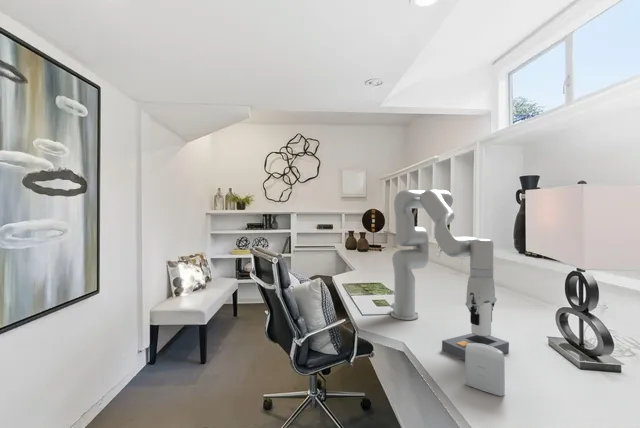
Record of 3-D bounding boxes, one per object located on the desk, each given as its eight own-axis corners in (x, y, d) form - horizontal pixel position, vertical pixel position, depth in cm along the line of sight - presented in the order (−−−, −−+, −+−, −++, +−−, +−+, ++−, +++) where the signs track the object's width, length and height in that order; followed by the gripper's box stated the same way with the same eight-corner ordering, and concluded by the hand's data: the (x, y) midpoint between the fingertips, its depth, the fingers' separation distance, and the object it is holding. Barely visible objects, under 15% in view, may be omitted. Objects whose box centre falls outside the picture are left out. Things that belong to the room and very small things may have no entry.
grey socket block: (442, 350, 121) (442, 339, 121) (478, 340, 130) (478, 330, 130) (471, 363, 110) (471, 351, 110) (508, 352, 119) (508, 341, 119)
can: (480, 337, 117) (480, 303, 117) (467, 331, 123) (467, 298, 123) (495, 336, 119) (495, 302, 119) (482, 329, 125) (482, 297, 125)
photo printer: (462, 385, 97) (463, 342, 96) (468, 379, 100) (468, 338, 100) (502, 398, 90) (502, 352, 89) (506, 392, 93) (507, 347, 93)
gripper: (487, 269, 128) (487, 316, 129) (456, 273, 120) (456, 323, 120) (506, 272, 122) (506, 322, 122) (474, 276, 114) (474, 329, 114)
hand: (481, 322), depth 121 cm, fingers closed on can, 6 cm apart
